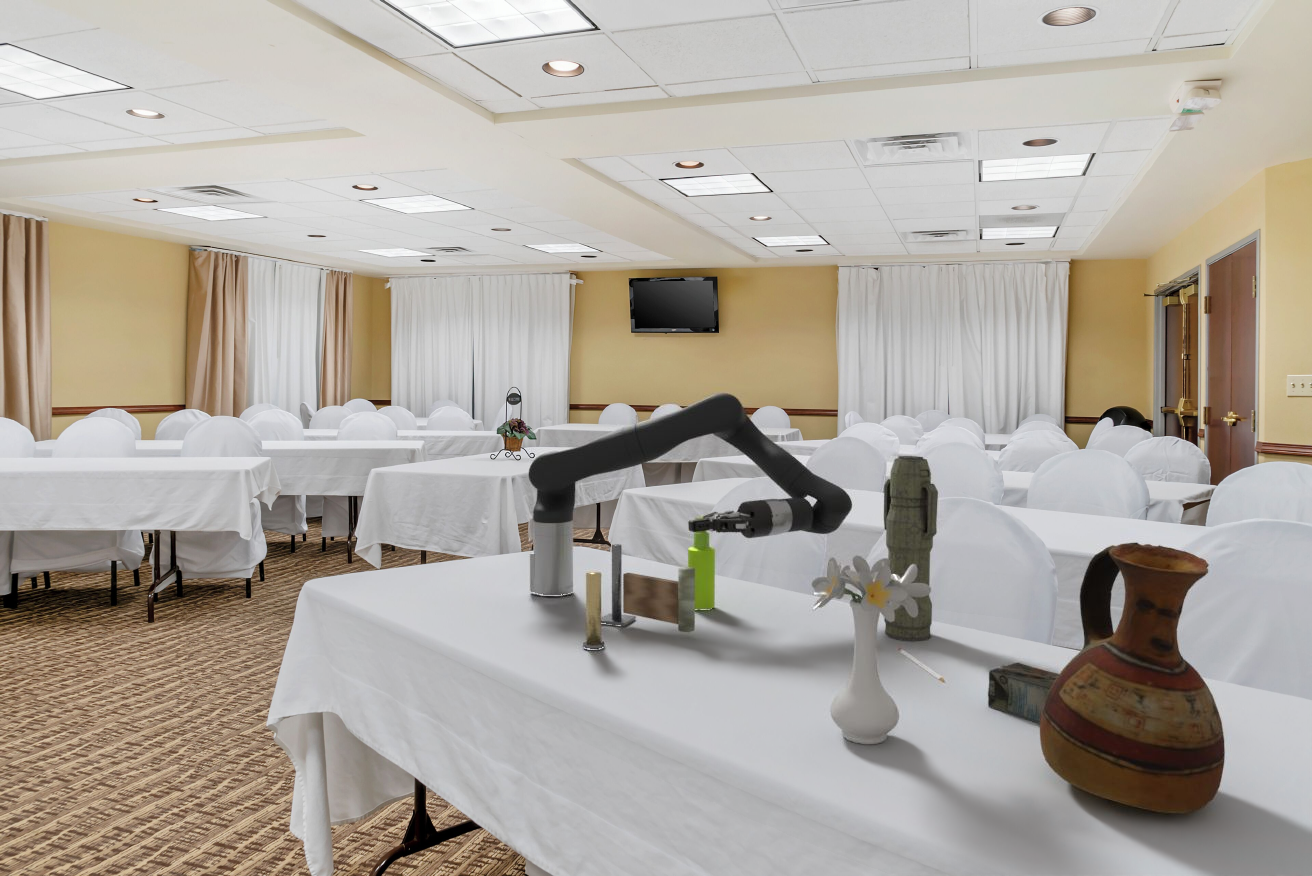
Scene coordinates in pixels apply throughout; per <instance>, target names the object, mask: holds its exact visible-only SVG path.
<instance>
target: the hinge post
mask: <svg viewBox="0 0 1312 876" xmlns="http://www.w3.org/2000/svg"><path fill="white" fill-rule="evenodd" d="M622 556H623V555H622V544H620V543H619V544H618V543H617V544H616V543H615V544H612V545H611V612H610V613H607V614H606V615H604V616H601V623H606V624H612V625H621V626H625V625H627V624H628V625H630V624H631V623H630V622H632V621H633V620H635V619H636V617H637V616H636V615H631V614H622V612H623V611H622V609H623V607H622V606H623V605H622V604H623V601H622V599H623V594H622V593H623V590H622V589H623V587H622V585H623V581H622V580H623V578H622V577H623V576H622V575H623V574H622V573H623V572H622ZM636 620H637V619H636ZM636 620H635V621H636ZM633 622H634V621H633ZM633 622H632V623H633ZM629 623H630V624H629ZM628 625H627V626H628ZM625 627H626V626H625Z"/></svg>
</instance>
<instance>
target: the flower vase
mask: <svg viewBox="0 0 1312 876" xmlns="http://www.w3.org/2000/svg"><path fill="white" fill-rule="evenodd" d="M852 565H853V567H854V570H851V566H850V565H849V564H846V565H844V566H843V567H842V563H839V564H838V563H837V560H836V558H835V557H830V558H829V559H828V562H827V566H826V567H827V570H826V576H819V577H816V578H814V579H813V581H812V582H811V587H812V589H813V595H815V596H820V598H818V599H817V600H816V601H815V603H814V604H813V607H812V611H813V612H814V611H816V610H817V609H818V608H819V609H820V608H823V607H825V606H826V605H827V604H828V603H829V602H830V601H831V600H833V599H834V598H835V599H836V600H842V598H843V597H844V595H848V596H851V598H852V599H850V601H849V605H850V607H851V610H852V615H853V623H854V648H853V663H852V668H851V672H850V676H849V680H848V681H847V683H846V685H845V686H844V688H843V689H841V690H840V691H839V692H838V693H837V694H836V696H835V697H834V698H833V700H832V701H831V704H830V709H829V712H830V717H831V719H832V721H833V723H835V724H836V726H837V727H838V728H839V729H840V730H841V731H840V733H841V735H842V737H843V738H844V739H845V738H846V739H845V740H847V741H849V742H851V741H852V742H851V743H855V744H859V743H860V744H861V745H877V744H878V745H879V744H881V743H883V742H884V741H886V739H887V738H888V734H889V733H890V732H891V731H893V730H894V729H895V727H896V726H897V725H898V722H899V720H900V712H899V709H898V706H897V704H896V701H895V700H894V699H893V698H892V697H891V696H890V694H889V693H888V692H887V691H886V690H885V688H884V686H883V684H882V682H881V678H880V675H879V674H880V673H879V669H878V666H879V665H878V650H877V647H878V646H877V644H878V643H877V634H878V626H879V625H878V624H879V619H880V614H881V615H882V616H883V619H884V618H885V619H886V620H888V621H889V622H893V621H894V620H895V613H894V610H895V609H897V608H899V607H900V605H903V606H904V607H905V609H906V611H907V612H908V614H909V615H910V616H911V617H914V618H915V617H917V615H918V607H917V604H916V601H915V600H914V599H913V598H912V597H924V596H927V595H928V594H929V595H930V594H931V592H932V588H931V585H930V584H929V585H927V584H924V583H911V582H913V581H914V580H915V578H916V576H917V566H916V565H915V564H912V565H911V566H910V567H909V568H908V569H907V571H906V572H905V574H904V576H903V577H902V578H900V576H898V575H896V574H892V575H891V570H890V567H889V565H890V560H889V559H888V557H887V558H886V557H883V558H881V559H878V560H877V561H876V562H875V563H874V564H873V565H872V566H870V565H869V563H868V562H867V560H866V559H865V558H864V557H862V556H861V555H854V556H853V557H852ZM841 567H842V568H841ZM846 584H848V585H851V586H853V587H854V588H856V589H857V590H858V591H860V594H861V595H860V594H858V593H855V592H853V591H852V590H851V589H848V588H847V587H846ZM911 596H912V597H911ZM888 602H890V603H888Z"/></svg>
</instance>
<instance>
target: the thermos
mask: <svg viewBox="0 0 1312 876" xmlns="http://www.w3.org/2000/svg"><path fill="white" fill-rule="evenodd" d="M889 475H890V478H889V479H887V480H886V482H885V484H883V485H884V486H883V487H884V488H883V492H884V493H883V525H884V530H885V531H886V532H885V533H886V534H885V536H886V537H885V545H886V548H887V551H888V552H887V553H888V557H887V558H888V559H889V560H890V565H889V567H890V570H891V575H892V574H896V575H898V576H900V578H902V577H903V576H904V574H905V572H906V571H907V569H908V568H909V567H910V566H911V565H912V564H915V565H916V566H917V576H916V578H915V580H914V581H913V582H911V583H924V584H927V585H929V586H930V579H931V578H930V577H931V576H930V575H931V573H930V572H931V552H932V549H933V547H934V546H933V545H934V537H935V536H936V535H937V533H938V530H937V522H938V521H937V520H938V519H937V518H938V502H939V501H938V500H939V499H938V498H939V491H938V489H937V487H936V485H935V484H934V483H932V482H931V481H932V472H931V469H930V466H929V462H928V459H926V458H924V457H923V456H915V455H901V456H898V458H896V457H895V458H894V460H893V463H892V465H891V469H890V474H889ZM911 597H912V596H911ZM912 598H913V599H914V600H915V601H916V604H917V607H918V615H917V617H915V618H914V617H911V616H910V615H909V614H908V612H907V611H906V609H905V607H904V606H903V605H900V607H899V608H897V609H895V610H894V613H895V620H894V621H893V622H889V621H888V620H886V619H885V618H884V617H883V620H884V623H885V629H884V635H885V636H887V637H888V638H890V639H893V640H899V641H907V642H922V641H927V640H929V639H931V635H932V634H931V626H932V623H933V622H932V619H933V604H932V603H933V602H932V601H931V597H930V594H928V595H927V596H924V597H912ZM888 603H890V602H888Z"/></svg>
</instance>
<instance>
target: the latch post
mask: <svg viewBox="0 0 1312 876" xmlns="http://www.w3.org/2000/svg"><path fill="white" fill-rule="evenodd" d="M601 618H602V572H601V571H587V572H586V573H585V637H586V638H585V641H584V642H583V643H582V648H583V647H585V648H590V649H599V648H602V647H604V648H605V642H604V641H602V625H601Z"/></svg>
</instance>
